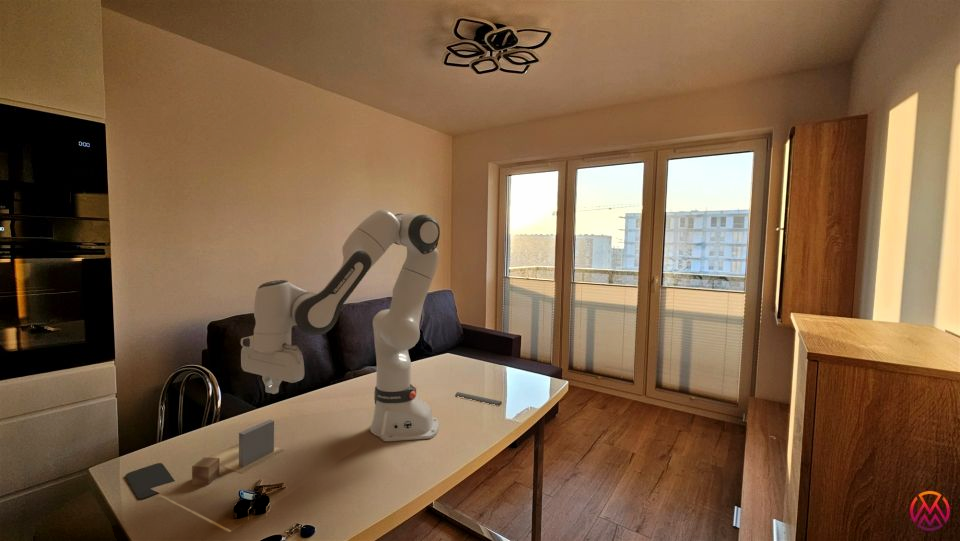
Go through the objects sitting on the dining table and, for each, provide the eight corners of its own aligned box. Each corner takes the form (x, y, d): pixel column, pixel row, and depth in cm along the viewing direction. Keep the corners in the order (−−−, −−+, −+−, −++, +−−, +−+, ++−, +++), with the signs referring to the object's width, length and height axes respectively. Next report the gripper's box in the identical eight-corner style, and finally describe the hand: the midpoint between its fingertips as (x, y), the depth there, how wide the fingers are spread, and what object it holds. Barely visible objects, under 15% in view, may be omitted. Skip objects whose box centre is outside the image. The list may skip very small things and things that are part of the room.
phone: (138, 500, 87) (124, 474, 96) (138, 503, 87) (124, 477, 96) (178, 484, 93) (161, 461, 102) (178, 488, 93) (161, 464, 102)
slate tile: (273, 451, 109) (274, 421, 108) (243, 467, 101) (243, 434, 100) (269, 450, 110) (269, 419, 109) (238, 465, 101) (238, 432, 101)
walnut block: (219, 476, 97) (219, 457, 97) (208, 486, 93) (208, 466, 93) (203, 476, 97) (203, 457, 97) (192, 486, 93) (192, 466, 93)
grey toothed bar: (498, 408, 147) (498, 403, 147) (454, 398, 156) (454, 393, 155) (502, 404, 151) (502, 399, 151) (459, 394, 159) (459, 390, 159)
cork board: (285, 451, 110) (285, 450, 110) (241, 475, 98) (241, 473, 98) (250, 439, 116) (250, 438, 116) (205, 460, 104) (205, 458, 104)
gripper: (311, 344, 100) (309, 395, 100) (258, 334, 108) (257, 382, 109) (290, 349, 94) (289, 404, 95) (236, 338, 102) (235, 389, 103)
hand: (271, 392), depth 102 cm, fingers closed
